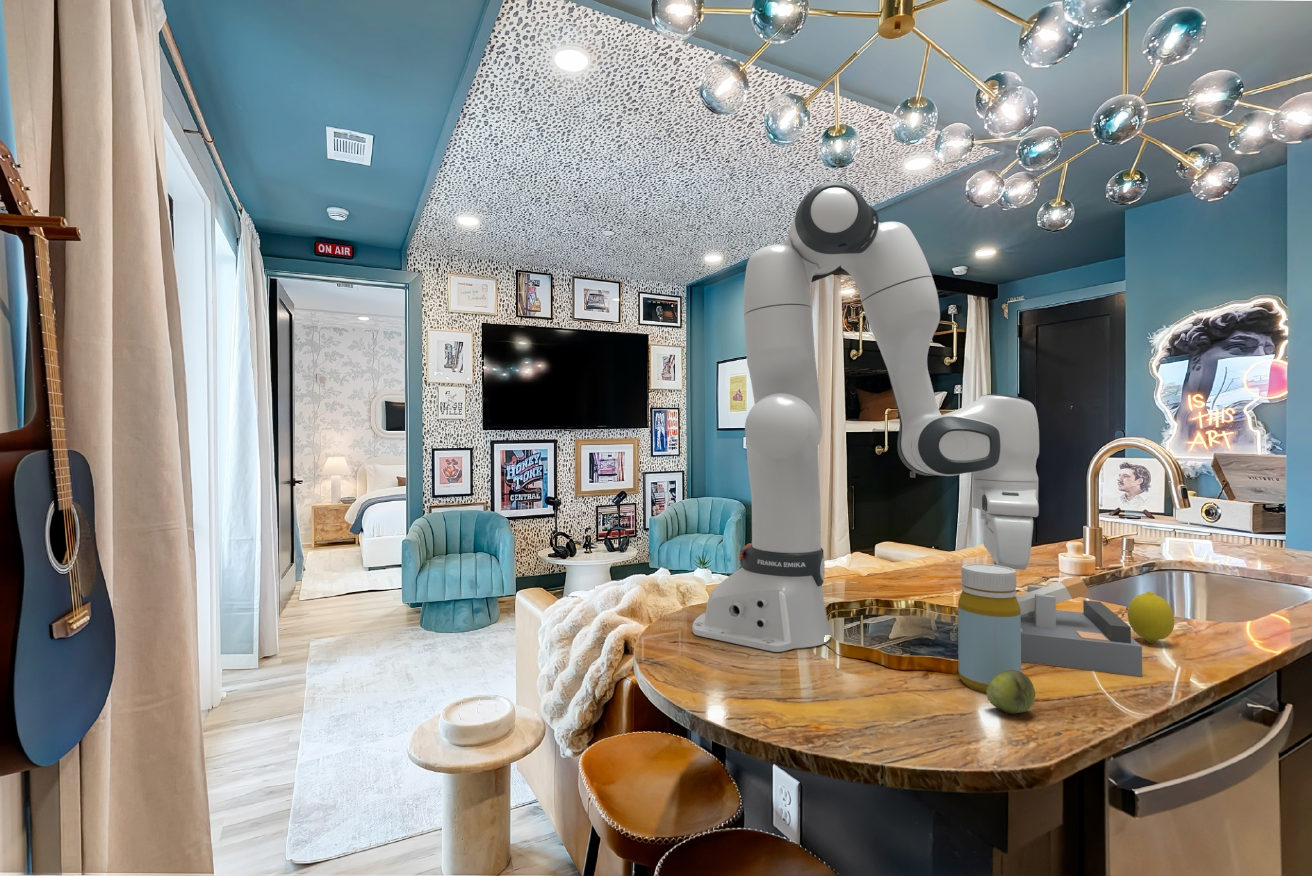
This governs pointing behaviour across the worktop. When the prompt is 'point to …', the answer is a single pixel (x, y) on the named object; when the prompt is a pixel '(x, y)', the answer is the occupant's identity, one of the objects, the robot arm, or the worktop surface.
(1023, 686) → the lime
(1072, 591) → the lever
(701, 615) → the robot arm
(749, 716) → the worktop surface
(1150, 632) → the lemon
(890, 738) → the worktop surface
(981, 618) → the bottle
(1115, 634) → the low grey base tray
